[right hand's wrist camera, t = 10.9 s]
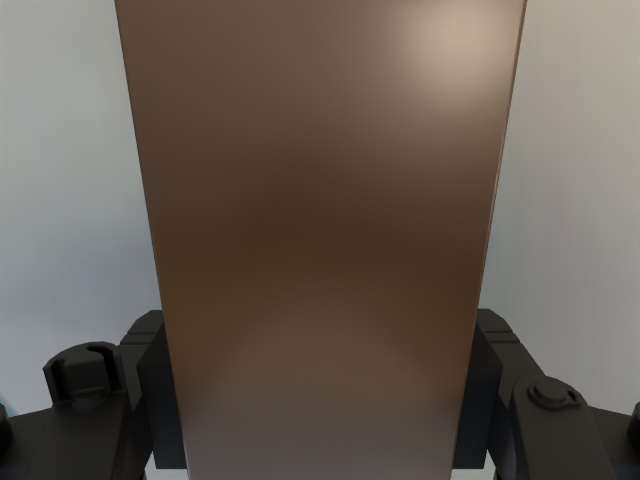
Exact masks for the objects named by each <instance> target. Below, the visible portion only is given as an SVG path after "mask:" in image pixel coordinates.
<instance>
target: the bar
mask: <svg viewBox="0 0 640 480" xmlns="http://www.w3.org/2000/svg"><path fill="white" fill-rule="evenodd" d="M526 5H527V0H115V7H116V13H117V20H118V26H119V32H120V39H121V45H122V52H123V58H124V65H125V71H126V78H127V84H128V91H129V97H130V103H131V110H132V116H133V123H134V129H135V136H136V142H137V149H138V155H139V162H140V168H141V174H142V181H143V187H144V194H145V200H146V207H147V213H148V220H149V226H150V233H151V239H152V245H153V252H154V258H155V265H156V271H157V278H158V284H159V291H160V297H161V304H162V310H163V316H164V323H165V329H166V336H167V342H168V349H169V355H170V362H171V368H172V375H173V381H174V387H175V394H176V400H177V407H178V413H179V420H180V426H181V433H182V439H183V446H184V452H185V458H186V465H187V471H188V478H189V480H450V478H451V472H452V466H453V459H454V453H455V447H456V441H457V434H458V428H459V422H460V416H461V409H462V403H463V397H464V391H465V385H466V378H467V372H468V366H469V360H470V353H471V347H472V341H473V335H474V329H475V322H476V316H477V310H478V304H479V297H480V291H481V285H482V279H483V272H484V266H485V260H486V254H487V248H488V241H489V235H490V229H491V223H492V216H493V210H494V204H495V198H496V192H497V185H498V179H499V173H500V167H501V160H502V154H503V148H504V142H505V135H506V129H507V123H508V117H509V111H510V104H511V98H512V92H513V86H514V79H515V73H516V67H517V61H518V55H519V48H520V42H521V36H522V30H523V23H524V17H525V11H526Z"/></svg>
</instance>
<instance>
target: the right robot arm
mask: <svg viewBox="0 0 640 480" xmlns="http://www.w3.org/2000/svg"><path fill="white" fill-rule="evenodd" d="M43 371H44V375H45V378H46V382H47V385H48V388H49V392H50V395H51V399H52V402H53V405H52V408H48V409H45V410H41V411H36V412H32V413H27V414H23V415H18V416H14V417H9V418H8V415H7V412H6V409H5V406H3V405H2V404H1V403H0V480H147V479H146V473H145V467H146V464H147V462H148V460H149V457H150V455H151V453H152V451H153V454H154V460H155V465H156V469H187V465H186V458H185V452H184V446H183V439H182V433H181V426H180V420H179V413H178V407H177V400H176V394H175V387H174V381H173V375H172V368H171V362H170V355H169V349H168V342H167V336H166V329H165V323H164V316H163V310H151V311H149V312H148V313H146V314H145V315H143V316H142V317H140V318H139V319H137V320H136V321H135V323H134V324H133V325H132V327H131V328H130V329H129V331H128V332H127V335H125V336H124V338H123V339H122V340H121V342H120V345H118V346H115V345H114V344H112V343H108V342H103V341H102V342H88V343H84V344H80V345H76V346H73V347H71V348H69V349H66V350H64V351H62V352H60V353H59V354H57V355H56V356H54V357H53V358H51V359H50V360H49V361H48V362H47V364H46V365H45V366H44V367H43ZM487 449H488V451H489V454H490V456H491V458H492V460H493V463H494V465H495V467H496V469H495V473H494V478H493V480H640V402H638V403H637V404H636V405H635V408H634V411H633V414H632V416H630V415H625V414H621V413H616V412H612V411H607V410H603V409H598V408H595V407H591V406H588V405H587V403H586V401H585V400H584V398H583V397H582V395H581V394H580V393H579V392H577V391H576V390H575V389H574V388H572V387H571V386H570V385H568V384H566V383H564V382H562V381H560V380H558V379H555V378H552V377H548V376H546V375H545V374H544V373H543V371H542V370H541V369H540V367H539V366H538V365H537V363H536V362H535V360H534V359H533V358H532V356H531V355H530V354H529V352H528V351H527V350H526V348H525V347H524V346H523V344H522V343H520V340H519V339H518V337H517V336H516V335H515V333H513V331H512V329H511V328H510V327H509V325H508V324H507V322H506V321H505V320H504V319H503V318H502V317H500V316H499V315H497V314H496V313H494V312H493V311H491V310H490V309H478V310H477V316H476V322H475V329H474V335H473V341H472V347H471V353H470V360H469V366H468V372H467V378H466V385H465V391H464V397H463V403H462V409H461V416H460V422H459V428H458V434H457V441H456V447H455V453H454V459H453V466H452V469H483V468H484V463H485V458H486V453H487Z"/></svg>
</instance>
